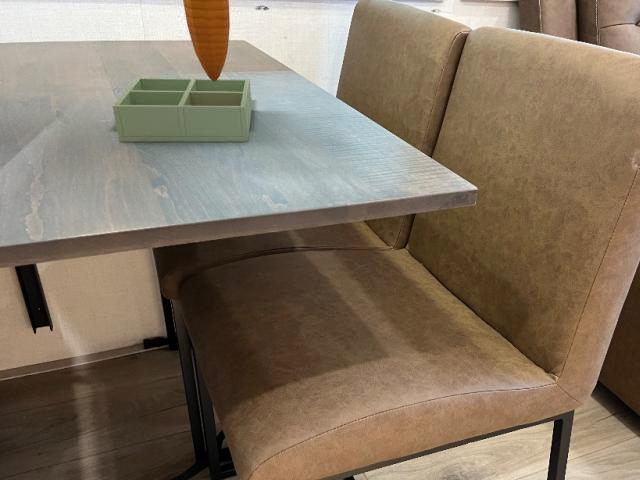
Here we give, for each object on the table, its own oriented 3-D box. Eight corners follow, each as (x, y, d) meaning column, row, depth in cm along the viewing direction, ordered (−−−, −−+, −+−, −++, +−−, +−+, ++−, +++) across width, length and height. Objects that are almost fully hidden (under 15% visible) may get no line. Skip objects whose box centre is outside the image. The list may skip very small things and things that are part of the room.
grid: (119, 141, 74) (112, 106, 72) (141, 108, 86) (136, 77, 84) (247, 141, 76) (245, 107, 74) (251, 109, 88) (249, 79, 86)
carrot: (191, 77, 77) (174, -66, 69) (233, 76, 78) (221, -64, 70) (193, 86, 73) (175, -64, 65) (237, 85, 74) (225, -62, 66)
